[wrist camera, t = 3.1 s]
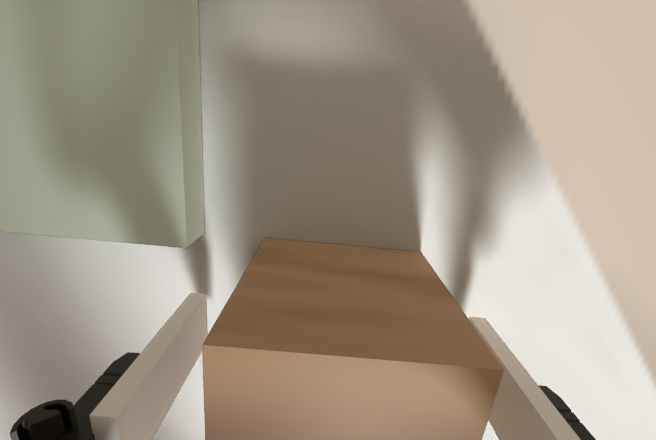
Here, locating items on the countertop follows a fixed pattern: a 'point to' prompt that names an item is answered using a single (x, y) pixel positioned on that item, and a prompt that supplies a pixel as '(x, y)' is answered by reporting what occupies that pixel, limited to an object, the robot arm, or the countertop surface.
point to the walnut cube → (345, 350)
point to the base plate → (101, 120)
